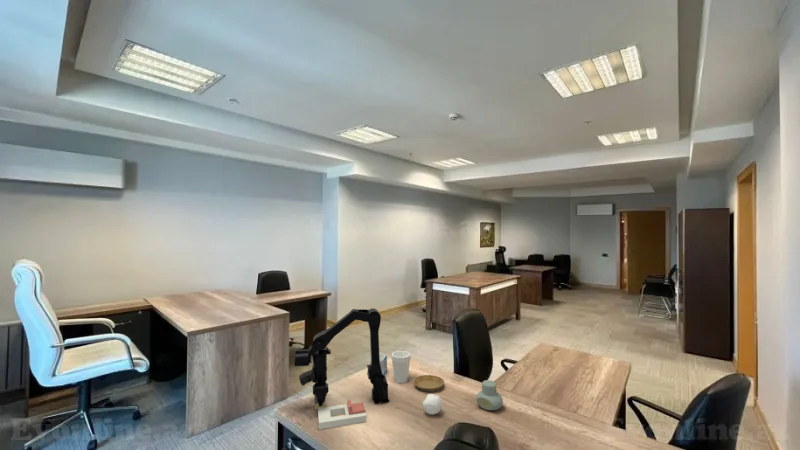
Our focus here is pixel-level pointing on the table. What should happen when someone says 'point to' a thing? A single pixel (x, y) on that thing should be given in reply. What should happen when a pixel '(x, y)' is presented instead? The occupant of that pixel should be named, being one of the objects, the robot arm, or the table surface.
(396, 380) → the foam cup
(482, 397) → the air freshener
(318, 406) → the plug
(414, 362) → the table surface
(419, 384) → the plant saucer
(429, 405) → the crumpled paper ball
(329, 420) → the socket plate
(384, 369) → the medicine box
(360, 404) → the pink toy block
